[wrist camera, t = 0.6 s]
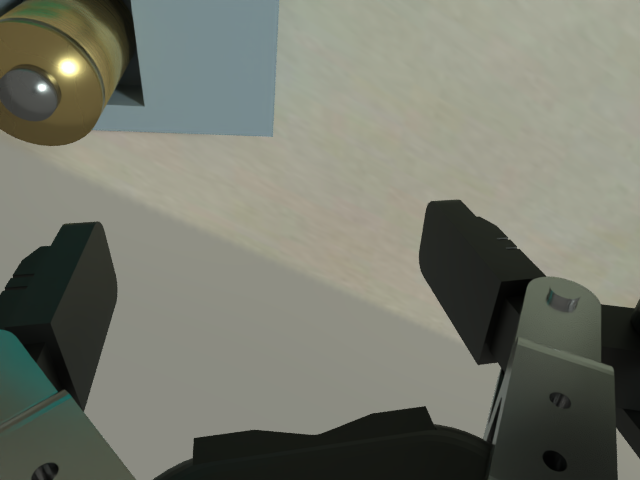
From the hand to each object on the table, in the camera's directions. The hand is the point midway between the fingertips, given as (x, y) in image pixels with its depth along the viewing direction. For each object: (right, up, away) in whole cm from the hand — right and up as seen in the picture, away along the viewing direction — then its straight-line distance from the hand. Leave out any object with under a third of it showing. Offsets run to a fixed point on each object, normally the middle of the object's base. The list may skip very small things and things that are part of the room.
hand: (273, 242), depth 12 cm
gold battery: (-11, +12, +14) cm, 21 cm away
